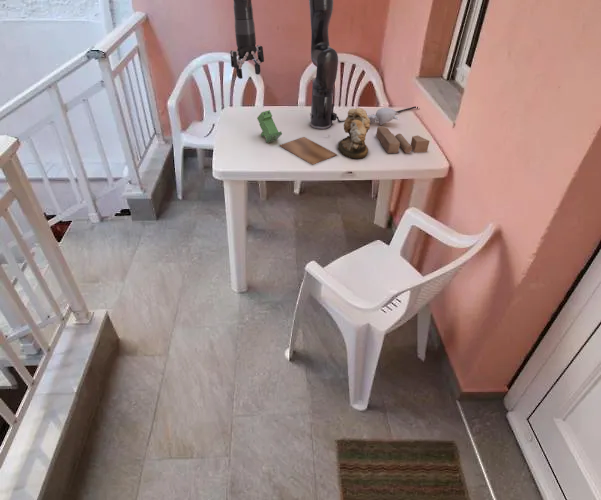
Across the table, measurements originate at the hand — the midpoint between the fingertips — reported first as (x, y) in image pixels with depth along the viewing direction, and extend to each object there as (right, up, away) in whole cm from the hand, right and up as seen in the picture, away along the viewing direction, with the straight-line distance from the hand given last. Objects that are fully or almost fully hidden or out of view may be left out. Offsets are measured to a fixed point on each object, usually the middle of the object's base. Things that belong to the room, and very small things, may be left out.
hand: (249, 76), depth 167 cm
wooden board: (+24, -30, 0) cm, 38 cm away
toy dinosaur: (+8, -24, +7) cm, 26 cm away
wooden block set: (+63, -26, +7) cm, 69 cm away
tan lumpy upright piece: (+42, -29, +2) cm, 51 cm away
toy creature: (+57, -12, +24) cm, 63 cm away
